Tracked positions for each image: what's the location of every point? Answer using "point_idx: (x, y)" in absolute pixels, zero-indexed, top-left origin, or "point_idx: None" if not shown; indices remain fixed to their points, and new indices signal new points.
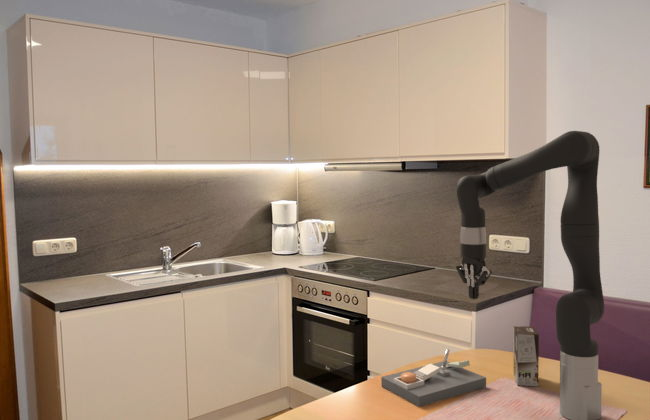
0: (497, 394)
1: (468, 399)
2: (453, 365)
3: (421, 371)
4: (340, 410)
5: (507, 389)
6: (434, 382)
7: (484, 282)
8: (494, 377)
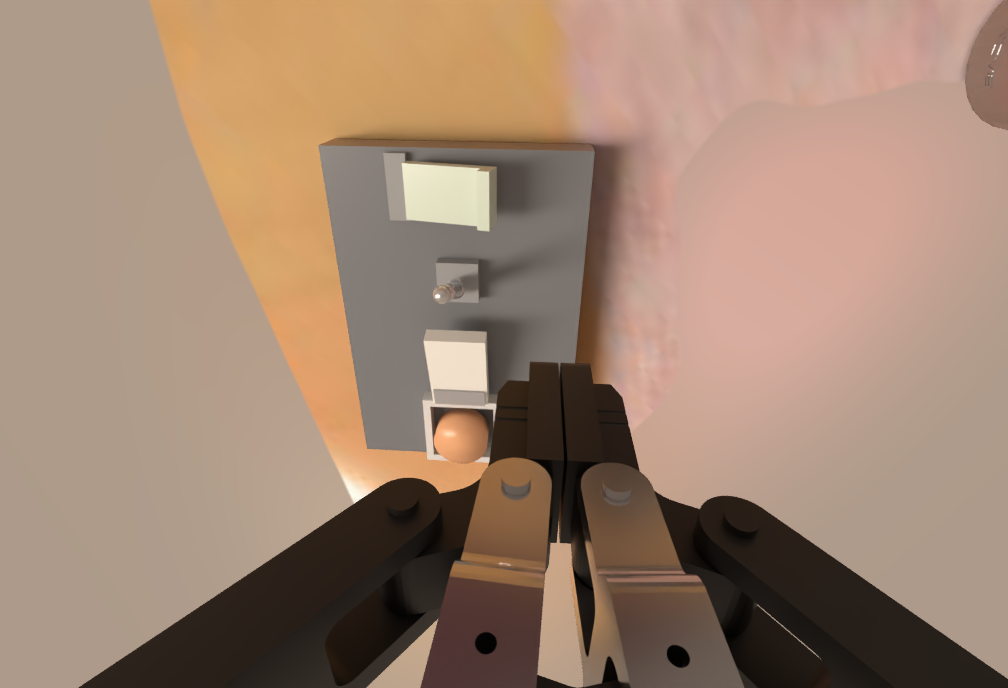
0: (670, 165)
1: (623, 290)
2: (446, 222)
3: (448, 385)
4: None
5: (669, 80)
6: (505, 356)
7: (811, 567)
8: (534, 2)
